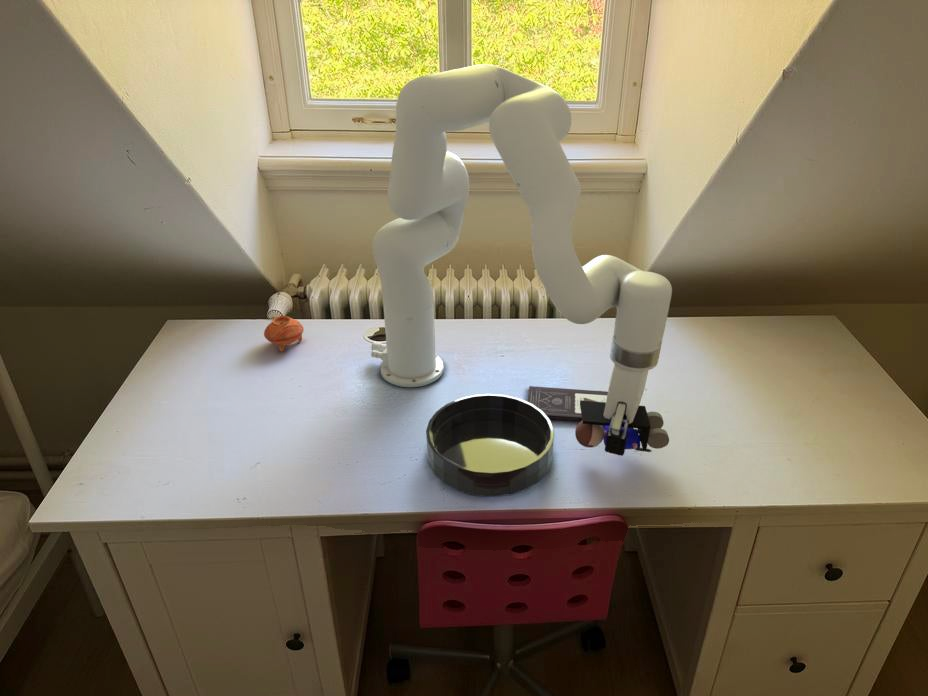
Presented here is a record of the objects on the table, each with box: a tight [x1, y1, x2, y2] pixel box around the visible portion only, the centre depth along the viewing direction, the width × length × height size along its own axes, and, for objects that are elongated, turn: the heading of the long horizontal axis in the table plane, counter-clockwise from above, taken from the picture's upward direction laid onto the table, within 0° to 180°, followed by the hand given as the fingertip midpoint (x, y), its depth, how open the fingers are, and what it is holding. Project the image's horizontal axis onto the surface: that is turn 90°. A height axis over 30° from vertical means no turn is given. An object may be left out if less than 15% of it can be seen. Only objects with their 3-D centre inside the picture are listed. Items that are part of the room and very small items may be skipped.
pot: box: [263, 315, 305, 353], centre depth 144 cm, size 8×8×7 cm
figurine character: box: [574, 400, 670, 453], centre depth 116 cm, size 7×8×15 cm
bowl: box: [425, 393, 555, 497], centre depth 117 cm, size 21×21×6 cm
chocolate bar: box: [527, 385, 608, 423], centre depth 130 cm, size 9×1×18 cm
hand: (619, 437), depth 117 cm, fingers closed on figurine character, 7 cm apart
